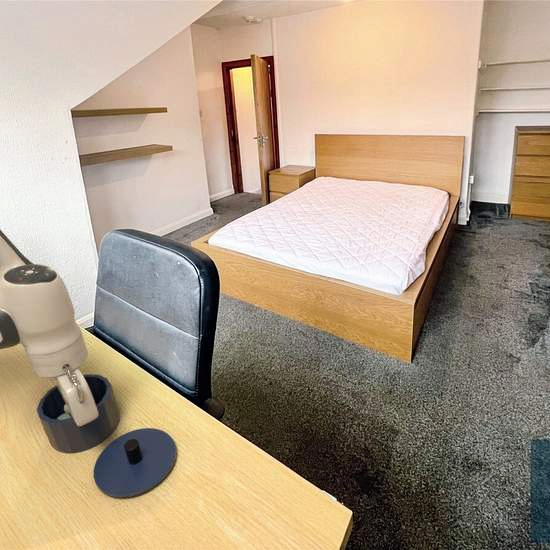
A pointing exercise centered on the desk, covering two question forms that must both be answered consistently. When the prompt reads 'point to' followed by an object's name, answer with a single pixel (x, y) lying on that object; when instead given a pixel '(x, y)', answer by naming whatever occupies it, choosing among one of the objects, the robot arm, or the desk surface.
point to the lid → (134, 462)
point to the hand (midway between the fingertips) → (80, 412)
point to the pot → (66, 431)
